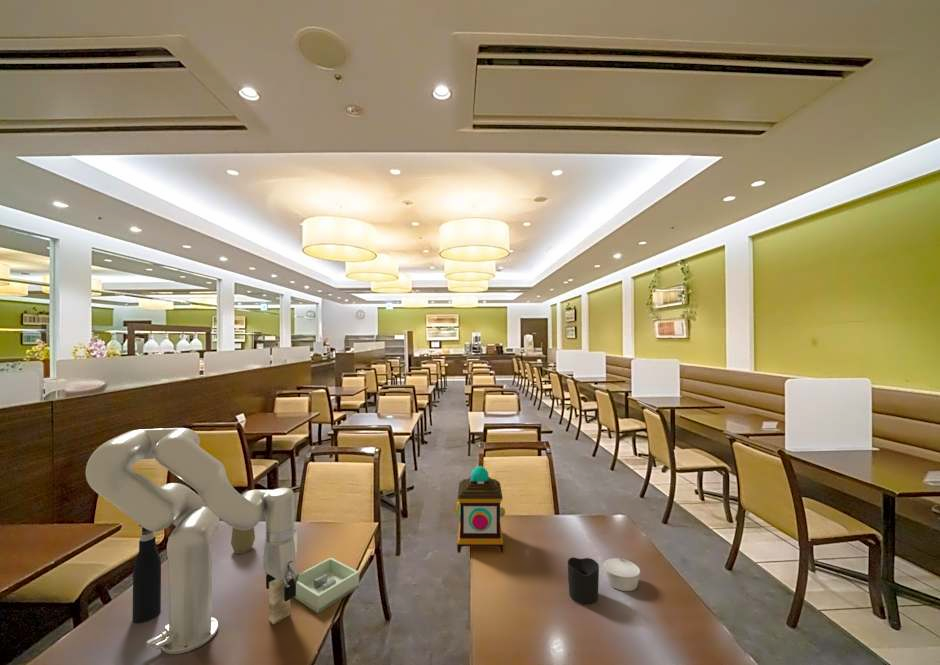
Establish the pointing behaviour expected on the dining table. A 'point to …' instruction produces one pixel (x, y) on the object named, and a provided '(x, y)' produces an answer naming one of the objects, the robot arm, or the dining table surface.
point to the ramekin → (621, 574)
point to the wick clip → (323, 582)
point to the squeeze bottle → (242, 540)
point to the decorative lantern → (479, 511)
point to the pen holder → (583, 580)
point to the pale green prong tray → (334, 570)
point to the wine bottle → (146, 579)
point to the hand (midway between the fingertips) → (280, 592)
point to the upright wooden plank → (278, 601)
